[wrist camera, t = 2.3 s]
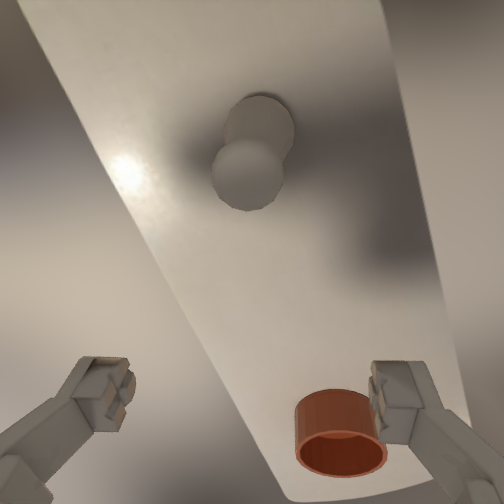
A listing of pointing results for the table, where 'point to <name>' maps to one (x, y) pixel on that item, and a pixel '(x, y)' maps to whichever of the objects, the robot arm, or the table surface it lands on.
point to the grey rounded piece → (253, 153)
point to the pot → (338, 434)
